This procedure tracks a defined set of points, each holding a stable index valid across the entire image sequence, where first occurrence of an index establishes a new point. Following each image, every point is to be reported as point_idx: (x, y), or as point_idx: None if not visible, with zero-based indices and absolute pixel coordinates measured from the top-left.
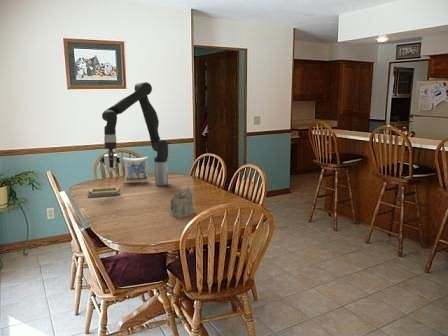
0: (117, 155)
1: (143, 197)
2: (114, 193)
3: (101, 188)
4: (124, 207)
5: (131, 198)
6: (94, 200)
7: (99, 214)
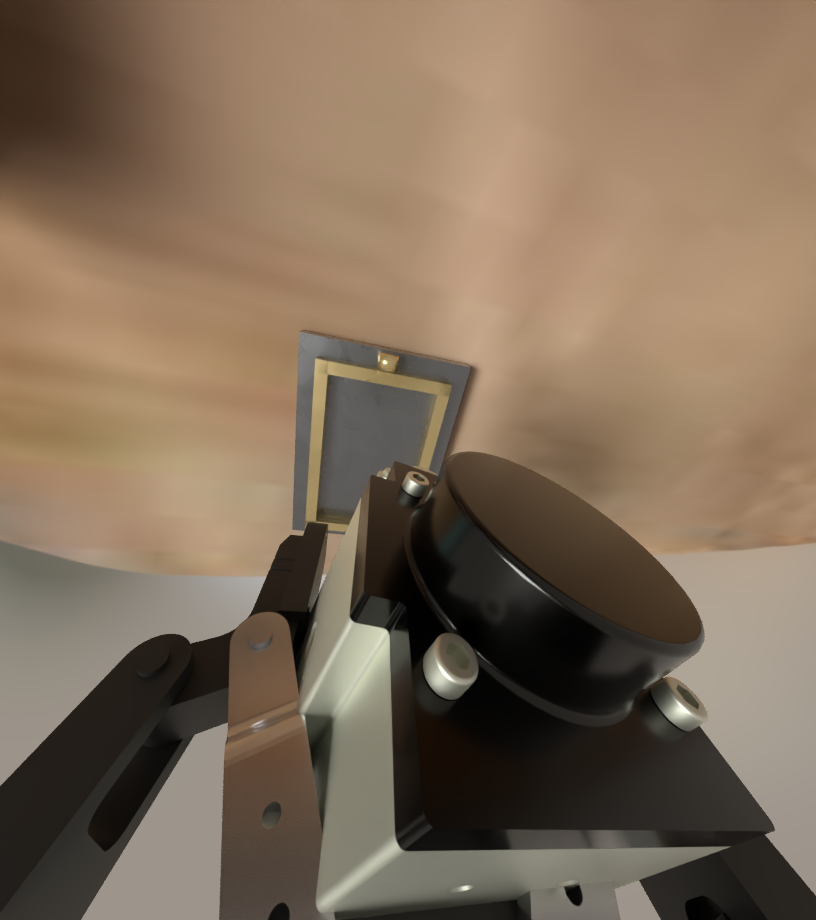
0: (663, 800)
1: (648, 196)
2: (455, 408)
3: (312, 474)
4: (736, 406)
5: (599, 310)
6: None
7: (720, 518)
